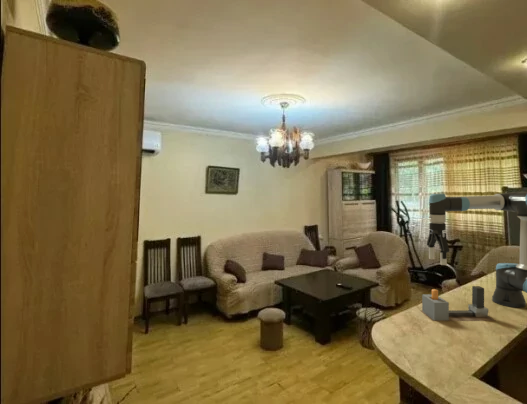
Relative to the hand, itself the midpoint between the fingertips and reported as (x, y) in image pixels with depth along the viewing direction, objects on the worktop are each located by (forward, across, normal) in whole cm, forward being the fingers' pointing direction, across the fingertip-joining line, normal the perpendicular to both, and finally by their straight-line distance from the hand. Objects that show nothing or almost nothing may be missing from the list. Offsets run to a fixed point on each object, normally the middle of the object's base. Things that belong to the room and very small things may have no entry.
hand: (437, 261), depth 160 cm
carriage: (+27, +5, +18) cm, 32 cm away
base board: (+27, +6, +7) cm, 29 cm away
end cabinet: (+26, +7, -4) cm, 28 cm away
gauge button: (+21, +7, -4) cm, 23 cm away
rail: (+27, +6, +10) cm, 29 cm away
